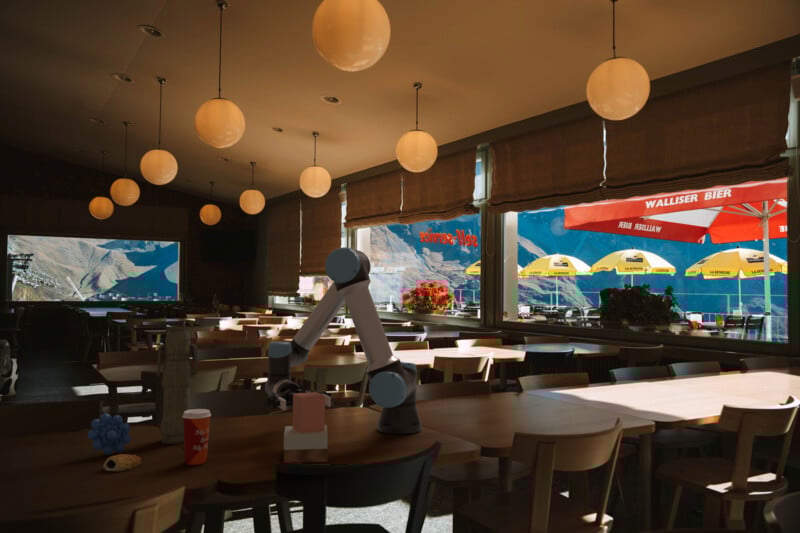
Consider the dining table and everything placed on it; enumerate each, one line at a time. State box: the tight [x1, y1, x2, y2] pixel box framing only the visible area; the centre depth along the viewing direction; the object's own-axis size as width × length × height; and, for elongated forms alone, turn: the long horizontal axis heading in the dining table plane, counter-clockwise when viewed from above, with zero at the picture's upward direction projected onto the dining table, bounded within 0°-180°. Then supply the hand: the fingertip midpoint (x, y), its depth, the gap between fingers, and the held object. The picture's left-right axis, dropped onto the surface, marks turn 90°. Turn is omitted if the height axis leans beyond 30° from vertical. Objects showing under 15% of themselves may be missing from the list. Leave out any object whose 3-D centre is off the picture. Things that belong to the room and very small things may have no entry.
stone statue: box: [156, 328, 198, 445], centre depth 194 cm, size 9×12×35 cm
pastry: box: [102, 453, 142, 473], centre depth 164 cm, size 9×7×4 cm
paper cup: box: [182, 408, 212, 466], centre depth 169 cm, size 8×8×14 cm
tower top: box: [283, 424, 329, 451], centre depth 176 cm, size 12×12×4 cm
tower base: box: [283, 442, 329, 463], centre depth 176 cm, size 12×12×4 cm
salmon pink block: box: [292, 392, 326, 433], centre depth 177 cm, size 7×7×10 cm
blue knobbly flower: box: [87, 412, 132, 456], centre depth 175 cm, size 12×7×12 cm, turn 128°
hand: (307, 403), depth 178 cm, fingers open, 13 cm apart
